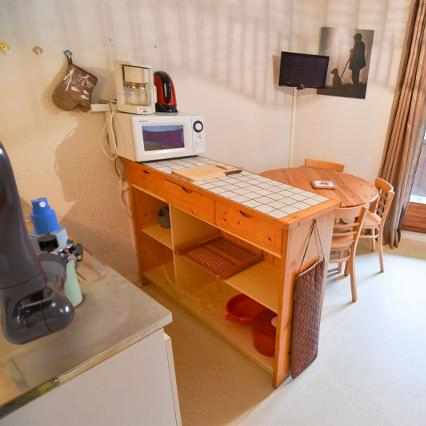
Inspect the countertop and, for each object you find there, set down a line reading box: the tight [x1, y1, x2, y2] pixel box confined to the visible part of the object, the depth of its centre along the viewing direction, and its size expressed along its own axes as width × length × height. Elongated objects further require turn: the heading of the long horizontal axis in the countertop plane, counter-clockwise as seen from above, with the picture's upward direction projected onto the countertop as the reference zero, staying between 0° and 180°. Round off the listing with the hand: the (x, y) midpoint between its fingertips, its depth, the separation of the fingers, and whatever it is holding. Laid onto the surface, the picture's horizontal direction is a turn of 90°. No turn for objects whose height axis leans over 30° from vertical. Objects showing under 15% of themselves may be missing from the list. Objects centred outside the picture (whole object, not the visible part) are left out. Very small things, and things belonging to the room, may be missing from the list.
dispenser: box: [65, 260, 83, 308], centre depth 89 cm, size 8×8×15 cm
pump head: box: [37, 231, 59, 252], centre depth 86 cm, size 7×4×4 cm, turn 35°
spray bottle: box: [29, 197, 76, 268], centre depth 101 cm, size 9×9×25 cm
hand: (49, 245), depth 85 cm, fingers open, 8 cm apart
